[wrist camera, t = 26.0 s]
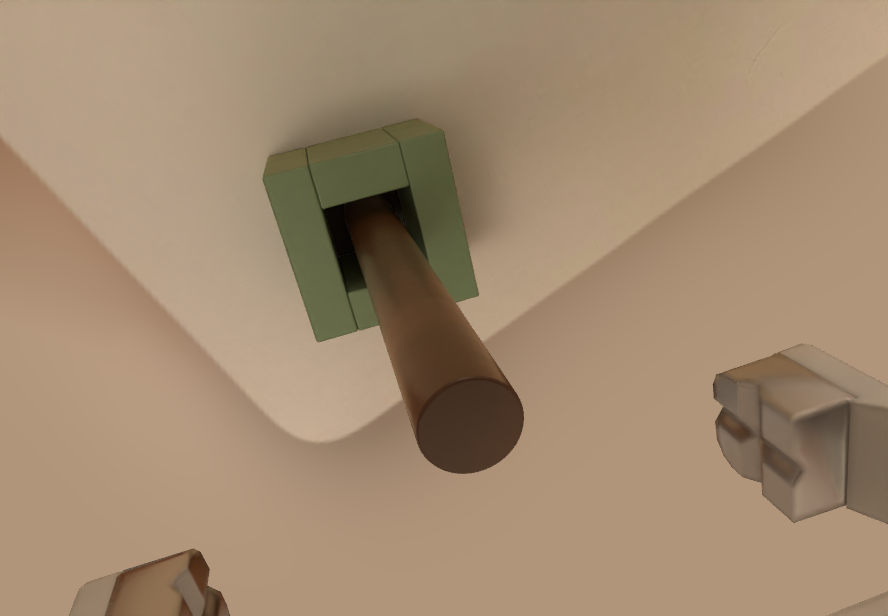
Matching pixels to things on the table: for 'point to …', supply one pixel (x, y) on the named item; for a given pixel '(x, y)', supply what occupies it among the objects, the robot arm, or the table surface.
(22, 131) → the table surface
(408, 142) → the holder
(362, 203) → the stick
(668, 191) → the table surface
